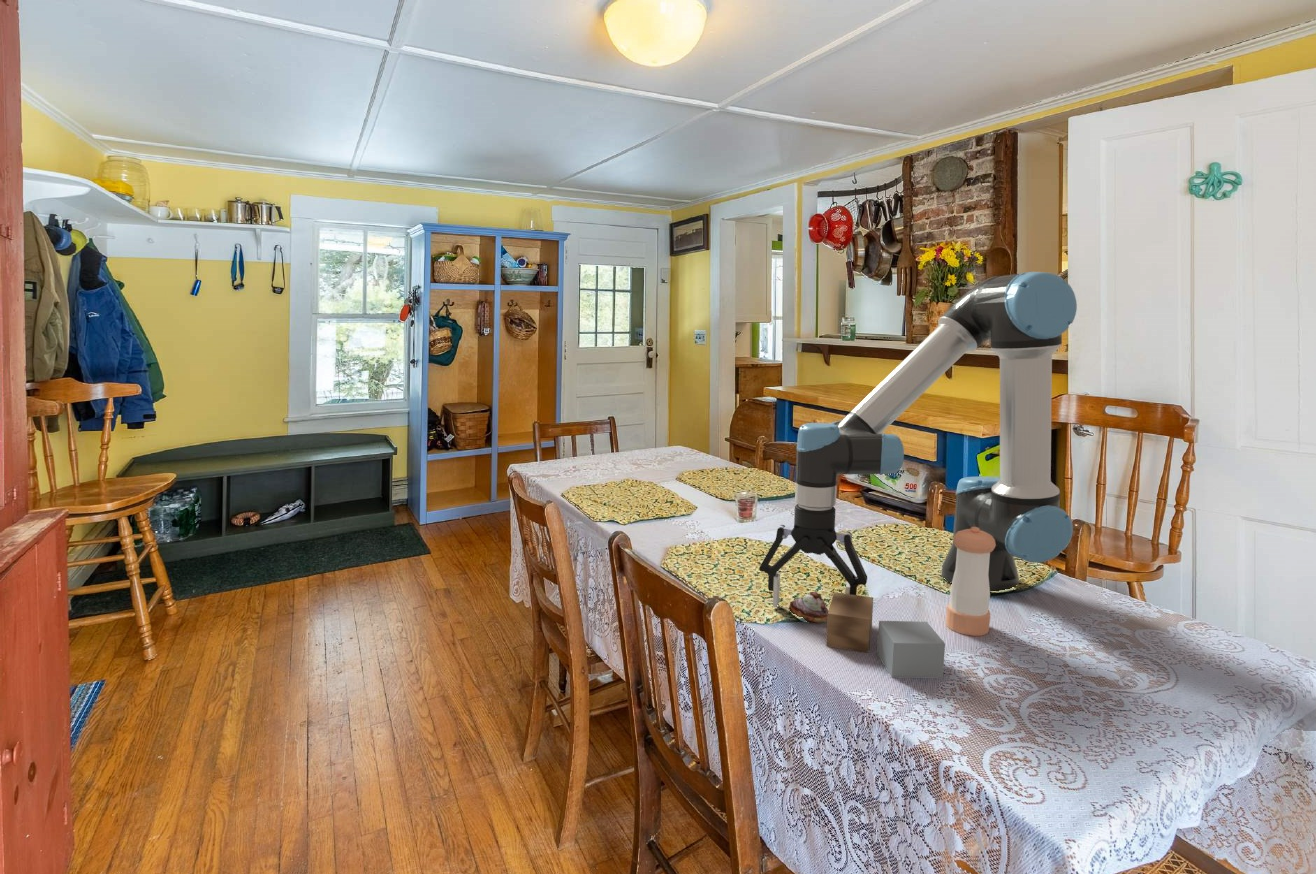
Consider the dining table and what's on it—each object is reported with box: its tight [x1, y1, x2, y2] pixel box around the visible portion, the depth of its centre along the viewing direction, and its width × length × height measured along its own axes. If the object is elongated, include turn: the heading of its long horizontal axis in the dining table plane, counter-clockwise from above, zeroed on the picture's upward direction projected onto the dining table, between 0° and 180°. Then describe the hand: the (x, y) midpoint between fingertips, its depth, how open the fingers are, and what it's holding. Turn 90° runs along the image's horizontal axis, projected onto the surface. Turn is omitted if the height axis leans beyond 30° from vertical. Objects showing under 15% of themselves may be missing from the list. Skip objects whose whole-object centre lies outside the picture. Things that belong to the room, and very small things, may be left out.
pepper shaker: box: [945, 527, 996, 637], centre depth 124 cm, size 7×7×19 cm
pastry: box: [788, 591, 829, 625], centre depth 130 cm, size 8×8×5 cm
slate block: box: [876, 620, 946, 679], centre depth 111 cm, size 8×8×6 cm
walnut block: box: [825, 591, 874, 654], centre depth 121 cm, size 7×10×6 cm
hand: (810, 611), depth 132 cm, fingers open, 13 cm apart
